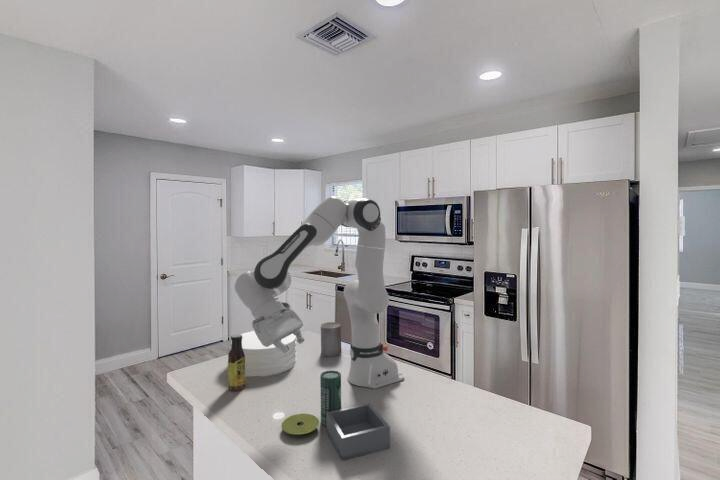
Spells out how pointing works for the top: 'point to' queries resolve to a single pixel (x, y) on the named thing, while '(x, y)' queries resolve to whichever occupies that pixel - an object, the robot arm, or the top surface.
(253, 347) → the plate stack
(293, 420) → the mat
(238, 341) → the sauce bottle
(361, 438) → the bin
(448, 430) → the top surface
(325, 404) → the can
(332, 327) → the pillar candle
